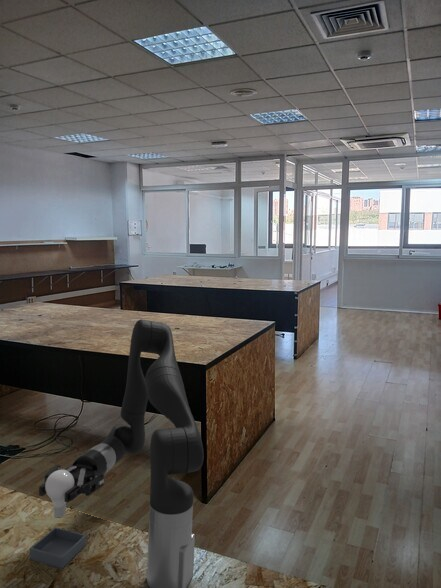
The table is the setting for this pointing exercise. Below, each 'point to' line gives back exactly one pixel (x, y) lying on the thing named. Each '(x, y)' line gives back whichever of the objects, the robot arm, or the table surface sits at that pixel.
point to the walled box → (58, 547)
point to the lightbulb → (59, 490)
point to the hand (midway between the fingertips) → (53, 495)
